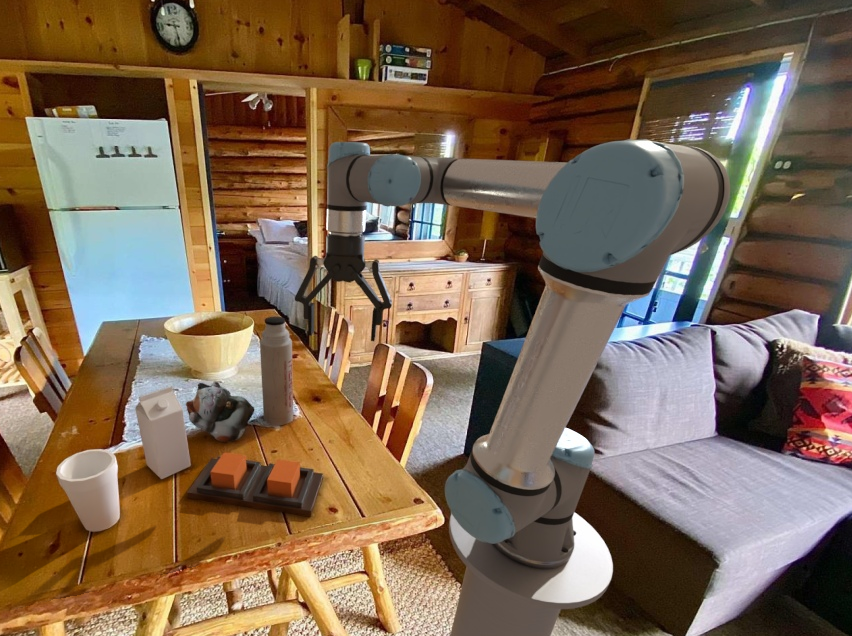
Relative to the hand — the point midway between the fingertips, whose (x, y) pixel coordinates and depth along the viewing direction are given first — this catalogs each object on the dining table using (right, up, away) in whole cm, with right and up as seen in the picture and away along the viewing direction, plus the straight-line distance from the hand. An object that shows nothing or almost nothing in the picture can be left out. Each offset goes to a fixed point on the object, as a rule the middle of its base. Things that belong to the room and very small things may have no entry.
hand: (341, 336), depth 95 cm
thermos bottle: (-17, -19, +25) cm, 35 cm away
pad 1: (-24, -30, -1) cm, 39 cm away
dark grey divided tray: (-18, -32, -2) cm, 37 cm away
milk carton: (-39, -29, +4) cm, 49 cm away
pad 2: (-12, -32, -3) cm, 34 cm away
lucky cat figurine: (-30, -22, +18) cm, 42 cm away
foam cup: (-46, -37, -11) cm, 60 cm away
